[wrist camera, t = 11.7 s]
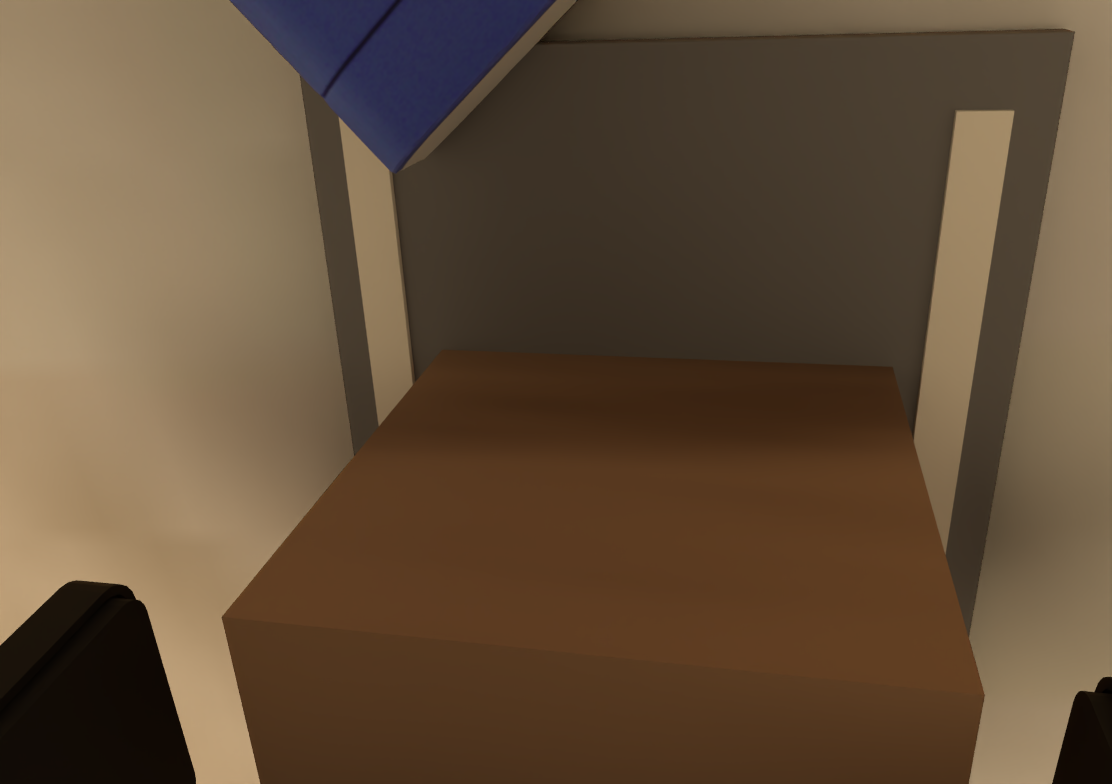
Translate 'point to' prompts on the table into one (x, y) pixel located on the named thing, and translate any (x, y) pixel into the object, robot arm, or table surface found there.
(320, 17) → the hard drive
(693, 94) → the mat
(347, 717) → the cube
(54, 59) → the table surface
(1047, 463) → the table surface
